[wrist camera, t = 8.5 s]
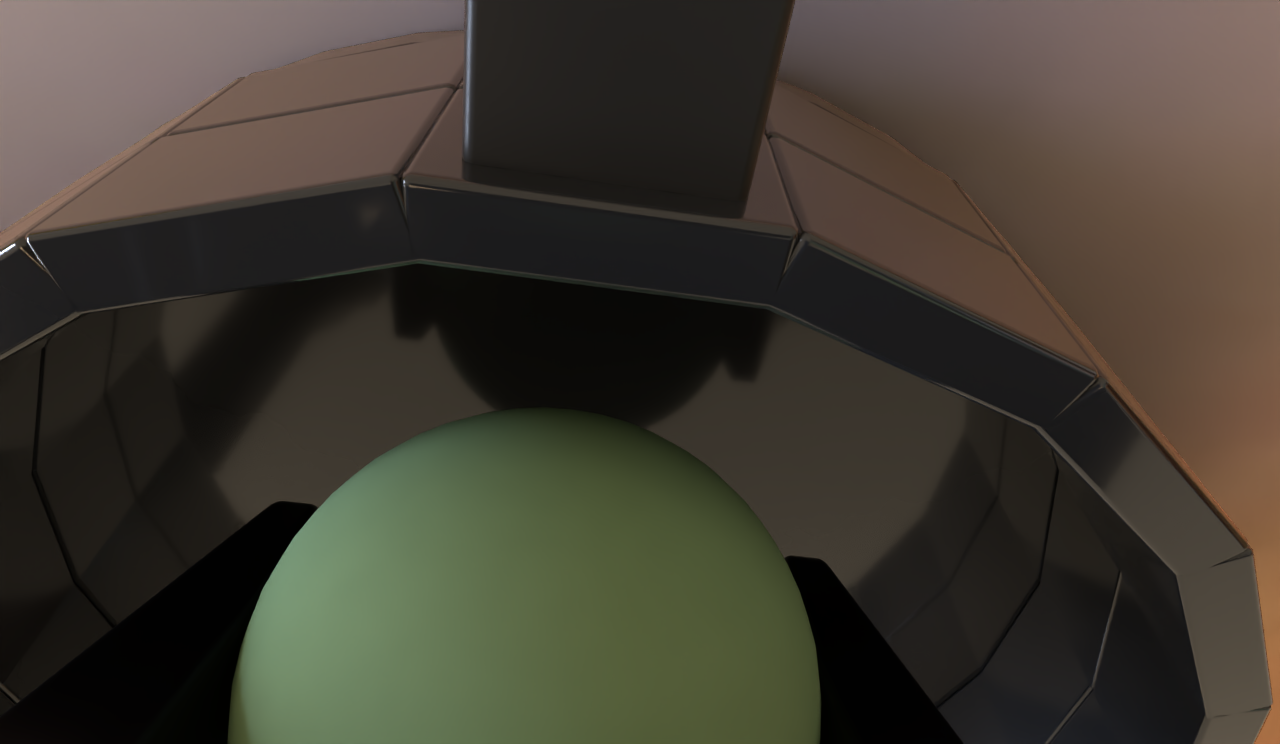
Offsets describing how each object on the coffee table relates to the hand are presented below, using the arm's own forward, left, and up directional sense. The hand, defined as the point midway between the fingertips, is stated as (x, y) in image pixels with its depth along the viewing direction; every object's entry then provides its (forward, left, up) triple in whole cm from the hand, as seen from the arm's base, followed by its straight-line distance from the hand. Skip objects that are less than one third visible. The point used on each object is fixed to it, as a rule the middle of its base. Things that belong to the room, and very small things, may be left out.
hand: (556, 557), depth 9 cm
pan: (-3, 0, -3) cm, 4 cm away
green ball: (0, 0, +2) cm, 2 cm away
